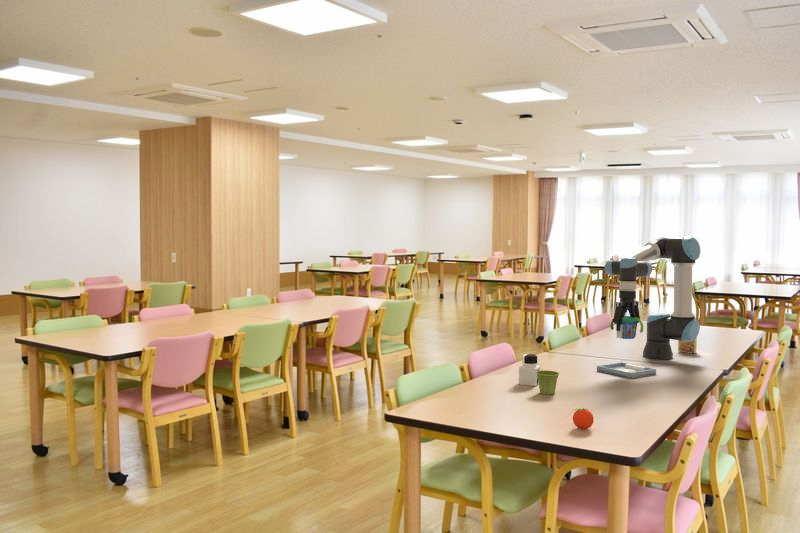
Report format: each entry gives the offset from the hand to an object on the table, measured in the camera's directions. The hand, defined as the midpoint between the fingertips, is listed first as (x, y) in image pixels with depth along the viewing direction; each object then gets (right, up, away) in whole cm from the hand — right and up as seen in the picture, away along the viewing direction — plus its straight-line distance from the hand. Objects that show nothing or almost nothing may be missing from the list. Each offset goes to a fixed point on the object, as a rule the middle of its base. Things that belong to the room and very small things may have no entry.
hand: (626, 337), depth 325 cm
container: (-51, -18, -23) cm, 59 cm away
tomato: (-46, -22, -92) cm, 105 cm away
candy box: (+53, -15, +56) cm, 79 cm away
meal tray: (0, -17, +1) cm, 17 cm away
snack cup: (0, -1, 0) cm, 1 cm away
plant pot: (-46, -19, -41) cm, 65 cm away
